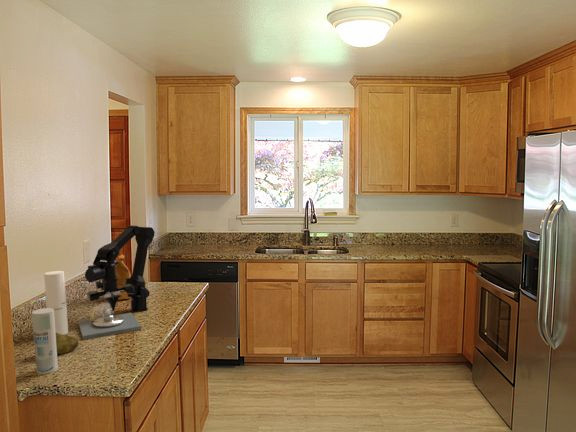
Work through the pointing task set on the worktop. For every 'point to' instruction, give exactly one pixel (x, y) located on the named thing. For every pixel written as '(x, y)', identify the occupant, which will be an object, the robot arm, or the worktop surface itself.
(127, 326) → the base board
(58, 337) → the potato
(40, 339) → the spray can
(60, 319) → the cylindrical container
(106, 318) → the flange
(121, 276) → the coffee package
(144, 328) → the worktop surface
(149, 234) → the robot arm
